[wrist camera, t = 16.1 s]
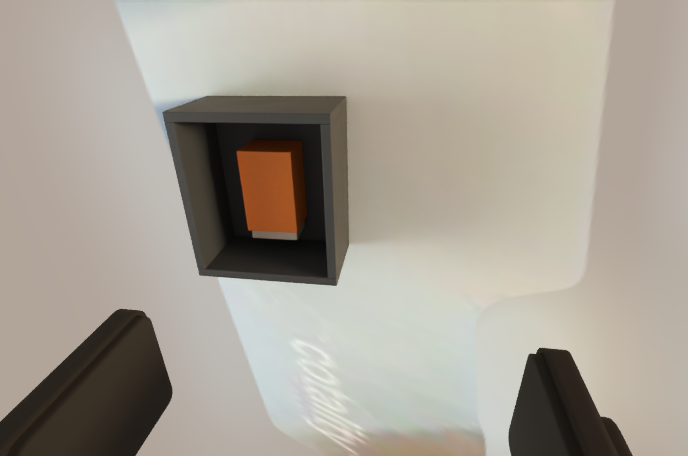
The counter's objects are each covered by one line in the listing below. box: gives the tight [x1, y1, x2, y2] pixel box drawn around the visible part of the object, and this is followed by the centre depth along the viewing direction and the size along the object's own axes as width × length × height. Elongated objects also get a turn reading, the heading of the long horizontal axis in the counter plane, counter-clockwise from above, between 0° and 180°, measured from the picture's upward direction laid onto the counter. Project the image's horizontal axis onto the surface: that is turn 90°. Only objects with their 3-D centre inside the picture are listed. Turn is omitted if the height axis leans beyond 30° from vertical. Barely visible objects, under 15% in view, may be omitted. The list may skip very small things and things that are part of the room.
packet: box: [236, 140, 307, 240], centre depth 39 cm, size 9×5×4 cm, turn 1°
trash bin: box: [163, 96, 349, 286], centre depth 37 cm, size 16×14×8 cm
